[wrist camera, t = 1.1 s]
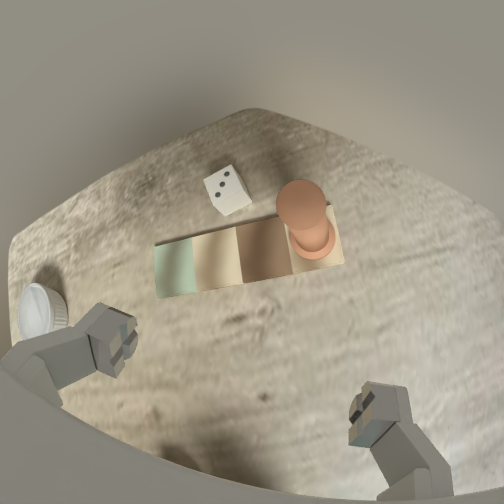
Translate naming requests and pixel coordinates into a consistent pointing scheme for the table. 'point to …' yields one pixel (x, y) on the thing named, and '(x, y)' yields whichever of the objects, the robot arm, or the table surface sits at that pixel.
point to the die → (227, 190)
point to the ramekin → (40, 311)
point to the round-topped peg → (306, 219)
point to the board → (234, 258)
